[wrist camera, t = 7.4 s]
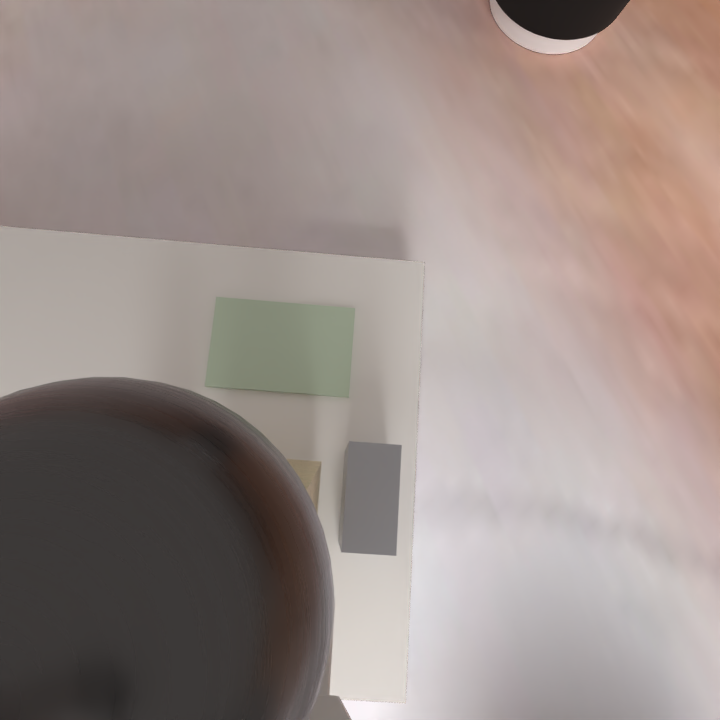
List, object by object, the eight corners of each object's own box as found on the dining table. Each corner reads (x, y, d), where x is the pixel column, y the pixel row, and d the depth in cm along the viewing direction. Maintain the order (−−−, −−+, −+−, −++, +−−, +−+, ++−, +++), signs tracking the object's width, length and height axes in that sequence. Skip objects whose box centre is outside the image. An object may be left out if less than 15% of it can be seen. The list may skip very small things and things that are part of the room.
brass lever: (325, 567, 14) (307, 1170, 2) (188, 558, 14) (-556, 1151, 2) (335, 430, 15) (361, 365, 3) (203, 421, 15) (-339, 310, 3)
